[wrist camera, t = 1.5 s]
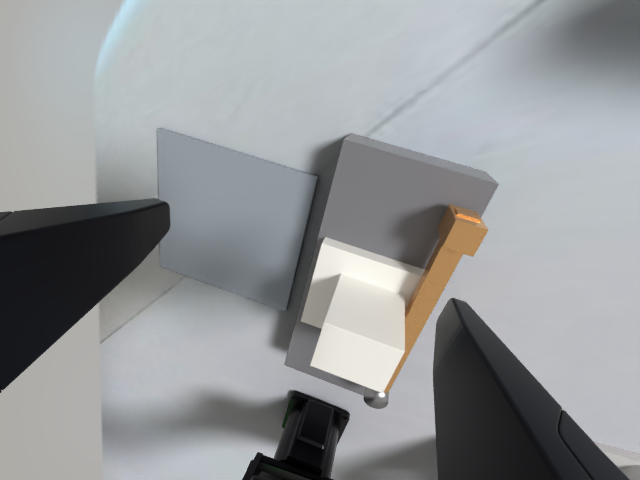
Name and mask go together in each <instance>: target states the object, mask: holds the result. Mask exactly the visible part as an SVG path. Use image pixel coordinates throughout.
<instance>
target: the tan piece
mask: <svg viewBox="0 0 640 480" xmlns="http://www.w3.org/2000/svg"><path fill="white" fill-rule="evenodd" d="M438 231H439V235H440V239H439V241H438V244H437V246H436V248H435V250H434V252H433V254H432V256H431V258H430V260H429V262H428V264H427V266H426V268H425V270H424V273H423V275H422V277H421V279H420V281H419V283H418V285H417V287H416V289H415V291H414V293H413V295H412V297H411V299H410V302H409V304H408V306H407V308H406V310H405V352H404V354H403V356H402V358H401V360H400V362H399V364H398V365H397V367H396V369H395V371H394V373H393V375H392V377H391V379H390V381H389V382H388V384H387V386H386V388H385V390H384V392H383V393H381V392H378V391H376V390H373V389H370V388H368V387H365V392H364V401H365V403H366V404H367V405H369V406H370V407H373V408H377V409H381V408H384V407H386V406H387V404H388V394H389V390H390V388H391V386H392V384H393V383H394V381H395V379H396V377H397V375H398V373H399V371H400V370H401V368H402V366H403V364H404V362H405V360H406V359H407V357H408V355H409V353H410V351H411V349H412V347H413V346H414V344H415V342H416V340H417V338H418V336H419V334H420V333H421V331H422V329H423V327H424V325H425V323H426V321H427V320H428V318H429V316H430V314H431V312H432V310H433V308H434V307H435V305H436V303H437V301H438V299H439V297H440V295H441V294H442V292H443V290H444V288H445V286H446V284H447V283H448V281H449V279H450V277H451V275H452V273H453V271H454V270H455V268H456V266H457V264H458V262H459V260H460V258H461V257H462V255H463V254H466V255H469V256H472V257H473V256H474V254H475V253H476V251H477V249H478V247H479V246H480V244H481V242H482V240H483V238H484V237H485V235H486V233H487V231H488V228H487V227H486V225H485V224H484V222H483V221H482V219H481V217H480V216H479V214H478V213H477V212H476V211H472V210H469V209H466V208H462V207H459V206H456V205H452V204H449V205H448V207H447V209H446V211H445V213H444V216H443V218H442V220H441V222H440V224H439V226H438Z"/></svg>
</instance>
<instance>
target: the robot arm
mask: <svg viewBox="0 0 640 480" xmlns="http://www.w3.org/2000/svg"><path fill="white" fill-rule="evenodd" d="M170 225H171V224H170V206H169V204H168V203H167V202H165V201H162V200H159V199H155V198H153V199H142V200H131V201H121V202H110V203H99V204H88V205H77V206H66V207H55V208H44V209H33V210H22V211H14V212H0V393H1V390H3V389H5V388H6V387H7V386H8V385H9V384H10V383H11V382H12V381H13V380H15V379H16V378H17V377H18V376H19V375H20V374H21V373H22V372H23V371H24V370H25V369H26V368H28V366H30V365H31V364H32V363H33V362H34V361H35V360H36V359H37V358H38V357H39V356H41V354H43V353H44V352H45V351H46V350H47V349H48V348H49V347H51V346H52V345H53V344H54V343H55V342H56V341H57V340H58V339H59V338H60V337H61V336H62V335H64V334H65V333H66V332H67V331H68V330H69V329H70V328H71V327H72V326H73V325H74V324H75V323H77V322H78V321H79V320H80V319H81V318H82V317H83V316H84V315H85V314H86V313H88V311H90V310H91V309H92V308H93V307H94V306H95V305H96V304H97V303H98V302H99V301H101V300H102V299H103V298H104V297H105V296H106V295H107V294H108V293H109V292H110V291H111V290H113V289H114V288H115V287H116V286H117V285H118V284H119V283H120V282H121V281H122V280H123V279H125V278H126V277H127V276H128V275H129V274H130V273H131V272H132V271H133V270H134V269H135V268H136V267H137V266H138V265H139V264H140V263H141V262H142V261H143V260H144V259H145V258H146V257H147V255H148V254H149V253H150V252H151V251H152V250H153V249H154V248H155V246H156V245H157V244H158V243H159V242H160V241H161V240H162V238H163V237H164V236H165V235H166V234H167V233H168V231H169V229H170ZM433 387H434V407H435V426H436V446H437V465H438V480H630V479H629V478H628V477H627V476H626V475H625V474H624V473H623V472H622V471H621V470H620V469H619V468H618V467H617V466H616V465H615V464H614V463H613V462H612V461H611V460H610V459H609V458H608V457H607V456H606V455H605V453H604V452H603V451H602V450H601V449H600V448H599V447H598V446H597V445H596V444H595V443H594V442H593V441H592V440H591V439H590V438H589V437H588V435H587V434H586V433H585V432H584V431H583V430H582V429H581V428H580V427H579V426H578V425H577V424H576V422H575V421H574V420H573V419H572V418H571V417H570V416H569V415H568V414H567V412H566V411H564V410H562V407H561V406H560V405H559V404H558V403H557V402H556V400H555V399H554V398H553V397H552V396H551V395H550V394H549V393H548V392H547V391H546V389H545V388H544V387H543V386H542V385H541V384H540V383H539V382H538V381H537V380H536V378H535V377H534V376H533V375H532V374H531V373H530V372H529V371H528V370H527V369H526V367H525V366H524V365H523V364H522V363H521V362H520V361H519V360H518V359H517V358H516V356H515V355H514V354H513V353H512V352H511V351H510V350H509V349H508V348H507V347H506V345H505V344H504V343H503V342H502V341H501V340H500V339H499V338H498V337H497V336H496V334H495V333H494V332H493V331H492V330H491V329H490V328H489V327H488V326H487V325H486V323H485V322H484V321H483V320H482V319H481V318H480V317H479V316H478V315H477V314H476V312H475V311H474V310H473V309H472V308H471V307H470V306H469V305H468V304H467V303H466V302H464V301H461V300H458V299H455V298H451V299H450V300H449V301H448V302H447V304H446V306H445V307H444V309H443V311H442V312H441V314H440V316H439V318H438V320H437V323H436V334H435V348H434V362H433ZM349 417H350V414H349V413H348V412H347V411H344V410H342V409H339V408H336V407H334V406H331V405H329V404H326V403H324V402H321V401H319V400H316V399H314V398H311V397H309V396H306V395H303V394H301V393H298V392H293V393H292V395H291V398H290V402H289V405H288V408H287V412H286V415H285V418H284V422H283V425H282V427H283V428H284V431H283V434H282V436H281V439H280V442H279V445H278V448H277V450H276V453H275V456H274V459H273V458H270V457H267V456H264V455H263V454H262V453H259V452H258V453H257V454H256V456H255V458H254V460H252V461H251V462H250V464H249V466H248V469H247V471H246V473H245V475H244V477H243V479H242V480H333V479H330V477H331V472H332V466H333V461H334V456H335V451H336V446H337V444H338V442H339V440H340V438H341V436H342V433H343V431H344V429H345V427H346V425H347V423H348V421H349Z"/></svg>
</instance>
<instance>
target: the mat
mask: <svg viewBox="0 0 640 480" xmlns="http://www.w3.org/2000/svg"><path fill="white" fill-rule="evenodd" d="M157 144H158V191H159V200H162V201H165V202H167V203H168V204H169V206H170V224H171V225H170V229H169V231H168V233H167V234H166V235H165V236H164V237H163V238H162V240H161V241H160V266H161V267H163V268H166V269H169V270H172V271H174V272H177V273H180V274H183V275H185V276H188V277H191V278H194V279H196V280H199V281H202V282H204V283H207V284H210V285H213V286H215V287H218V288H221V289H224V290H226V291H229V292H232V293H235V294H237V295H240V296H243V297H246V298H248V299H251V300H254V301H257V302H259V303H262V304H265V305H268V306H270V307H273V308H276V309H279V310H281V311H284V312H286V310H287V307H288V302H289V298H290V294H291V290H292V286H293V281H294V277H295V273H296V269H297V265H298V260H299V256H300V252H301V248H302V244H303V239H304V235H305V231H306V227H307V223H308V218H309V214H310V210H311V206H312V202H313V197H314V193H315V189H316V185H317V181H318V176H315V175H312V174H309V173H306V172H302V171H299V170H296V169H293V168H289V167H286V166H283V165H280V164H276V163H273V162H270V161H267V160H263V159H260V158H257V157H254V156H250V155H247V154H244V153H241V152H237V151H234V150H231V149H228V148H225V147H221V146H218V145H215V144H212V143H208V142H205V141H202V140H199V139H195V138H192V137H189V136H186V135H182V134H179V133H176V132H173V131H169V130H166V129H163V128H157Z"/></svg>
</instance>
